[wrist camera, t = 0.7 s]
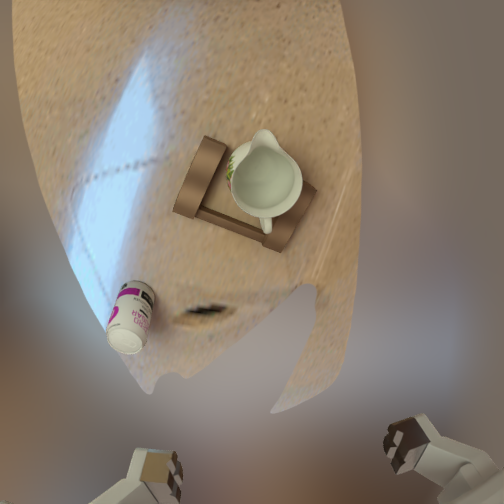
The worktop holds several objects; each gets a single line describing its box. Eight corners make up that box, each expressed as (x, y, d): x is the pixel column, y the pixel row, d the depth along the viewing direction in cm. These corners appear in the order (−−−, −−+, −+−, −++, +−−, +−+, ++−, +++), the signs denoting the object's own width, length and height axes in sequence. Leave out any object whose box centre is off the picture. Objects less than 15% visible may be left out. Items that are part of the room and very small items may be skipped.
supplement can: (115, 299, 62) (100, 345, 49) (127, 273, 59) (110, 319, 46) (147, 313, 65) (137, 361, 52) (160, 289, 62) (151, 337, 49)
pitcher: (231, 219, 57) (237, 253, 45) (218, 126, 48) (221, 134, 36) (286, 211, 57) (307, 242, 46) (280, 119, 49) (303, 125, 37)
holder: (204, 135, 48) (204, 137, 45) (310, 184, 55) (316, 190, 52) (174, 203, 54) (172, 211, 50) (276, 243, 61) (280, 253, 57)
